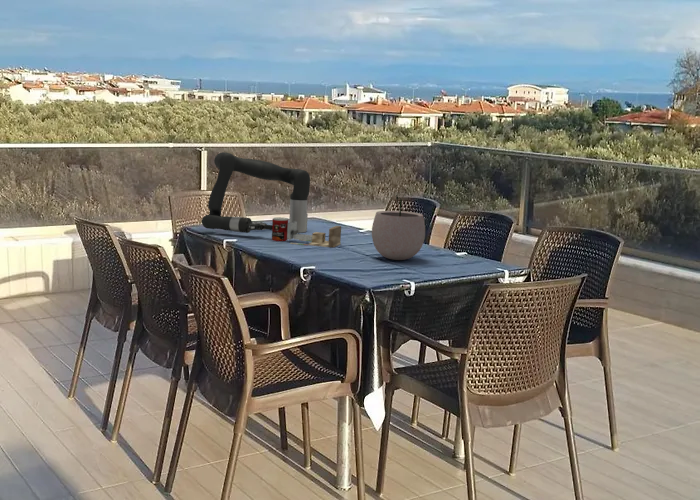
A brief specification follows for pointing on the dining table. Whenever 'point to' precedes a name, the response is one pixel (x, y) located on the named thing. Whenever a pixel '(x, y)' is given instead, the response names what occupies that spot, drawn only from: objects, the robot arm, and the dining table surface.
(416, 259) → the dining table surface
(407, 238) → the plant pot
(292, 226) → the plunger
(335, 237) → the wooden stand
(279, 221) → the canned food
